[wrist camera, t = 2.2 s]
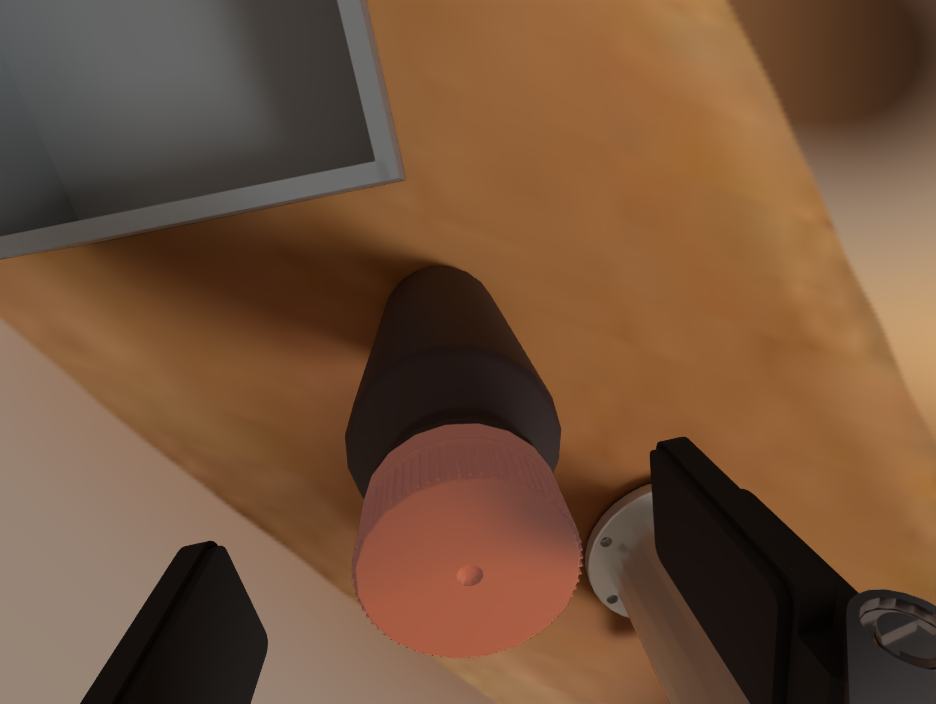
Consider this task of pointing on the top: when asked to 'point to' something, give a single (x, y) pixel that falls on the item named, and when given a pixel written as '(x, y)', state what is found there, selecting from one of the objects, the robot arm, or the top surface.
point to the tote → (182, 113)
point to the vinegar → (457, 477)
